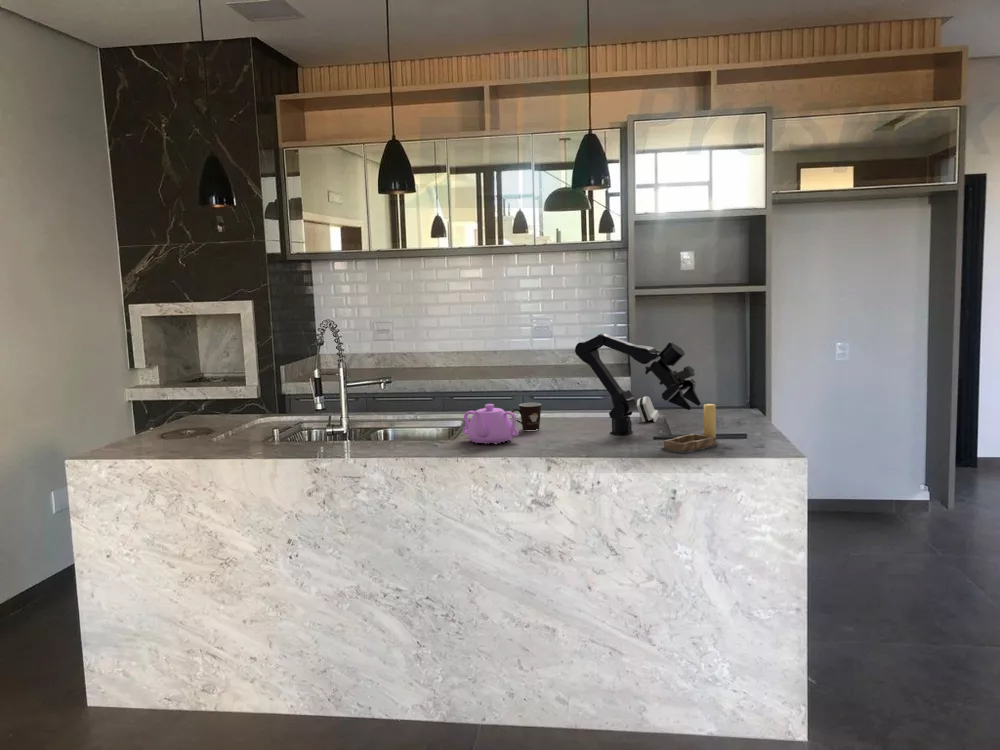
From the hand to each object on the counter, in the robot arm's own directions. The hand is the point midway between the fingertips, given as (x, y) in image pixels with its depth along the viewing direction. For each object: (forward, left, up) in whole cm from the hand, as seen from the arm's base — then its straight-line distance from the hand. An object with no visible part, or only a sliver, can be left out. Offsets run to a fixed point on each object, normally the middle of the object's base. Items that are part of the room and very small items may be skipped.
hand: (695, 407), depth 273 cm
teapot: (-63, -39, -12) cm, 75 cm away
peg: (+5, 0, -12) cm, 13 cm away
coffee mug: (-64, -14, -12) cm, 66 cm away
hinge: (-34, +28, -12) cm, 46 cm away
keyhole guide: (+3, -12, -12) cm, 17 cm away
